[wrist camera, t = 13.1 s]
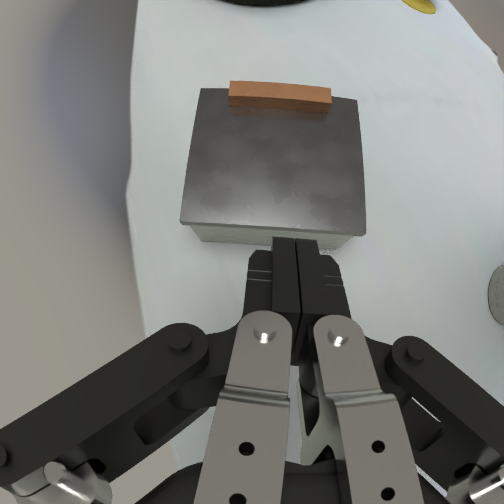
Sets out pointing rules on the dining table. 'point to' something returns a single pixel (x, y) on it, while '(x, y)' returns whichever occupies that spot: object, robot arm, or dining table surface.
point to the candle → (421, 5)
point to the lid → (275, 160)
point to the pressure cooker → (263, 2)
